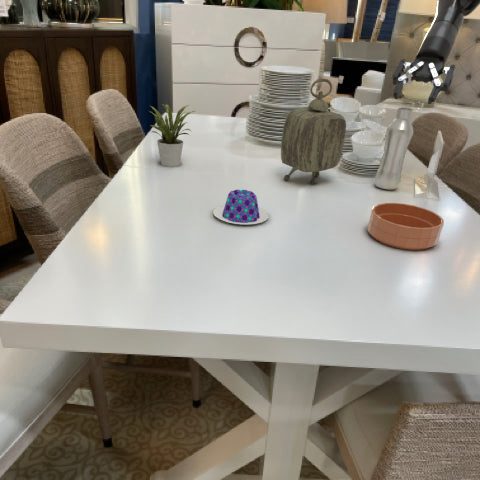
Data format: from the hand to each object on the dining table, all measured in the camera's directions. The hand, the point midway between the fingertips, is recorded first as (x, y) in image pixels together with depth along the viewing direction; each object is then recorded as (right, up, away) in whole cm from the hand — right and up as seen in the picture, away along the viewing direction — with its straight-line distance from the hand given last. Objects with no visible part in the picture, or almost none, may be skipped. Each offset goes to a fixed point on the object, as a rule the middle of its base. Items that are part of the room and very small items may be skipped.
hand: (412, 99), depth 119 cm
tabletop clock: (-25, -19, +8) cm, 32 cm away
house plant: (-62, -12, +13) cm, 64 cm away
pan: (-10, -38, -20) cm, 44 cm away
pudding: (-43, -34, -17) cm, 57 cm away
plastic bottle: (-4, -20, +9) cm, 22 cm away
